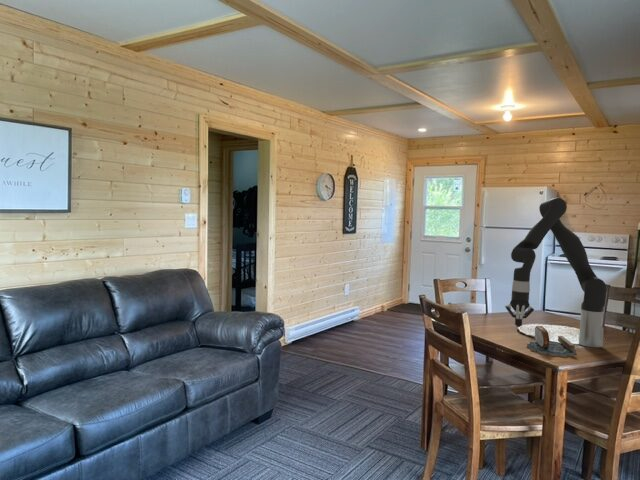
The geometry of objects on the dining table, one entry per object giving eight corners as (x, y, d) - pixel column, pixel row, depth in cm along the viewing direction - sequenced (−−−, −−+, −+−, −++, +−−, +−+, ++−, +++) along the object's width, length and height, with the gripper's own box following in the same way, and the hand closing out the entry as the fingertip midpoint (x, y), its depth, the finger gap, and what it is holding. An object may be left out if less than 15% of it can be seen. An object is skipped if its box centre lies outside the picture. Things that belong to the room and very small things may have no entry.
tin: (549, 350, 210) (550, 332, 209) (542, 350, 211) (543, 331, 210) (540, 341, 225) (541, 324, 224) (533, 340, 225) (534, 323, 225)
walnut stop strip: (562, 341, 224) (562, 336, 224) (574, 350, 208) (574, 345, 208) (557, 340, 224) (558, 335, 224) (569, 350, 209) (570, 345, 208)
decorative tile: (517, 347, 221) (518, 342, 221) (548, 344, 229) (548, 339, 229) (553, 360, 203) (554, 355, 203) (585, 356, 211) (585, 351, 210)
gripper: (533, 289, 221) (530, 325, 222) (504, 287, 223) (501, 323, 225) (537, 292, 214) (535, 329, 215) (507, 290, 216) (504, 327, 217)
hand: (518, 326), depth 220 cm, fingers closed
